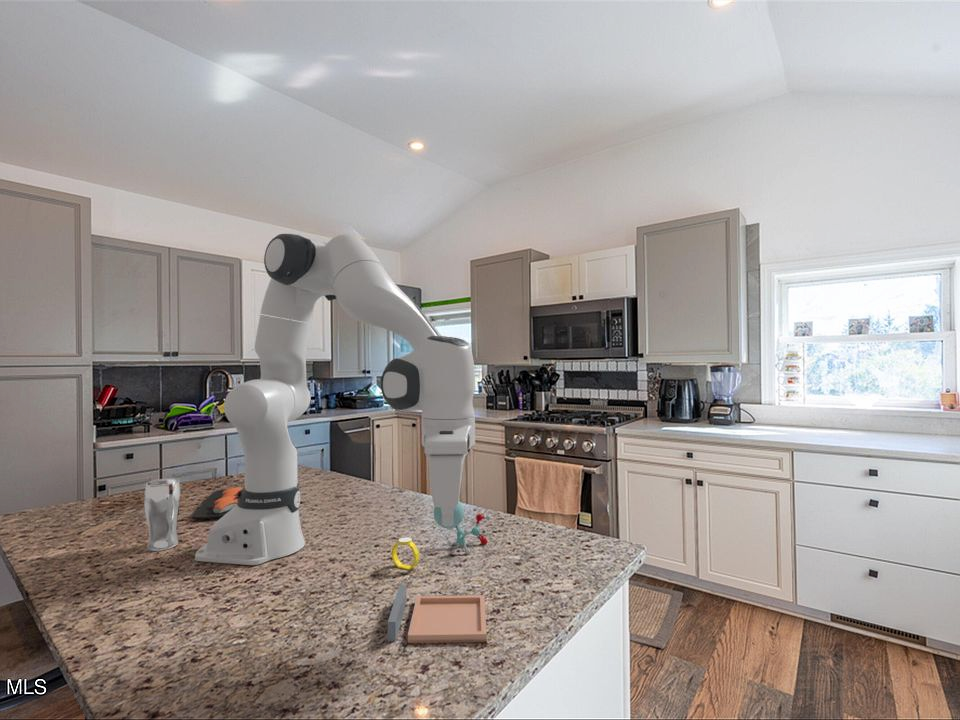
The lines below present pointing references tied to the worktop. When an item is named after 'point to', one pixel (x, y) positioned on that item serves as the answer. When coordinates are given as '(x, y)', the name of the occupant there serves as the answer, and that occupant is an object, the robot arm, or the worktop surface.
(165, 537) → the beer glass
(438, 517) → the ball
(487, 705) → the worktop surface
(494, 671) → the worktop surface
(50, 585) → the worktop surface
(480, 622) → the dish
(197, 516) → the sushi plate
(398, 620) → the block
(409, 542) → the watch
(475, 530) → the molecular model
